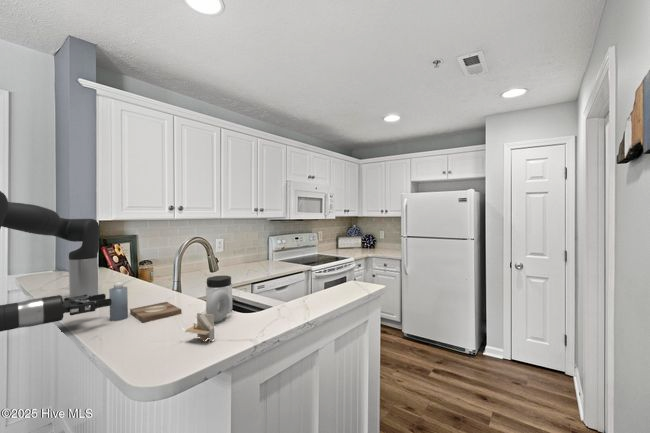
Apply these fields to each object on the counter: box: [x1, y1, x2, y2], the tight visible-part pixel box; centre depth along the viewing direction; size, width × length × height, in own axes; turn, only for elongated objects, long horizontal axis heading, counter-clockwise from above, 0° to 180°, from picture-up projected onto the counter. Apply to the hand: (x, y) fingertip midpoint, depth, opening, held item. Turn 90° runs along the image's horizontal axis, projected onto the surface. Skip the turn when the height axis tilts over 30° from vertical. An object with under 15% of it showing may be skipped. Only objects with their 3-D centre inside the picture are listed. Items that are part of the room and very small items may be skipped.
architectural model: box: [184, 312, 215, 342], centre depth 83 cm, size 3×7×7 cm, turn 71°
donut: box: [205, 290, 230, 323], centre depth 98 cm, size 10×4×10 cm, turn 163°
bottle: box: [108, 281, 129, 322], centre depth 102 cm, size 5×5×12 cm
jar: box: [205, 275, 233, 314], centre depth 108 cm, size 9×8×12 cm
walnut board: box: [129, 301, 182, 323], centre depth 107 cm, size 14×12×2 cm
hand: (108, 299), depth 100 cm, fingers open, 8 cm apart
